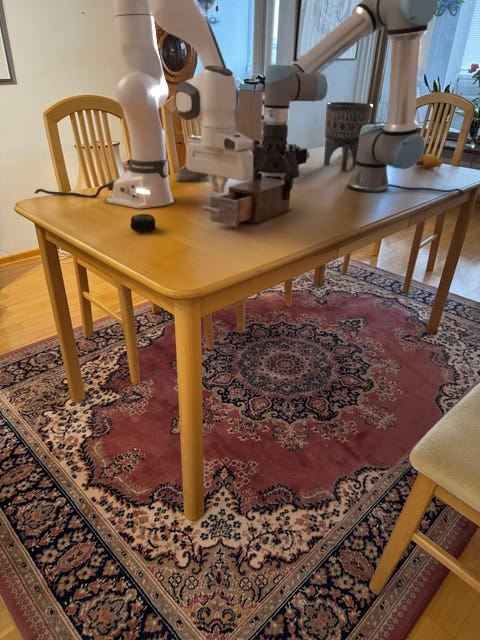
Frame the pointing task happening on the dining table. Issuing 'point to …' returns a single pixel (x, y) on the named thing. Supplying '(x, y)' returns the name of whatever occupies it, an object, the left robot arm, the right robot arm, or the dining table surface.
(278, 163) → the mechanical component
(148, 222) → the tape measure
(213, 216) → the drawer
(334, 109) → the planter
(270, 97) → the right robot arm
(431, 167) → the toy
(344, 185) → the dining table surface
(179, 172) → the rock
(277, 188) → the cabinet
